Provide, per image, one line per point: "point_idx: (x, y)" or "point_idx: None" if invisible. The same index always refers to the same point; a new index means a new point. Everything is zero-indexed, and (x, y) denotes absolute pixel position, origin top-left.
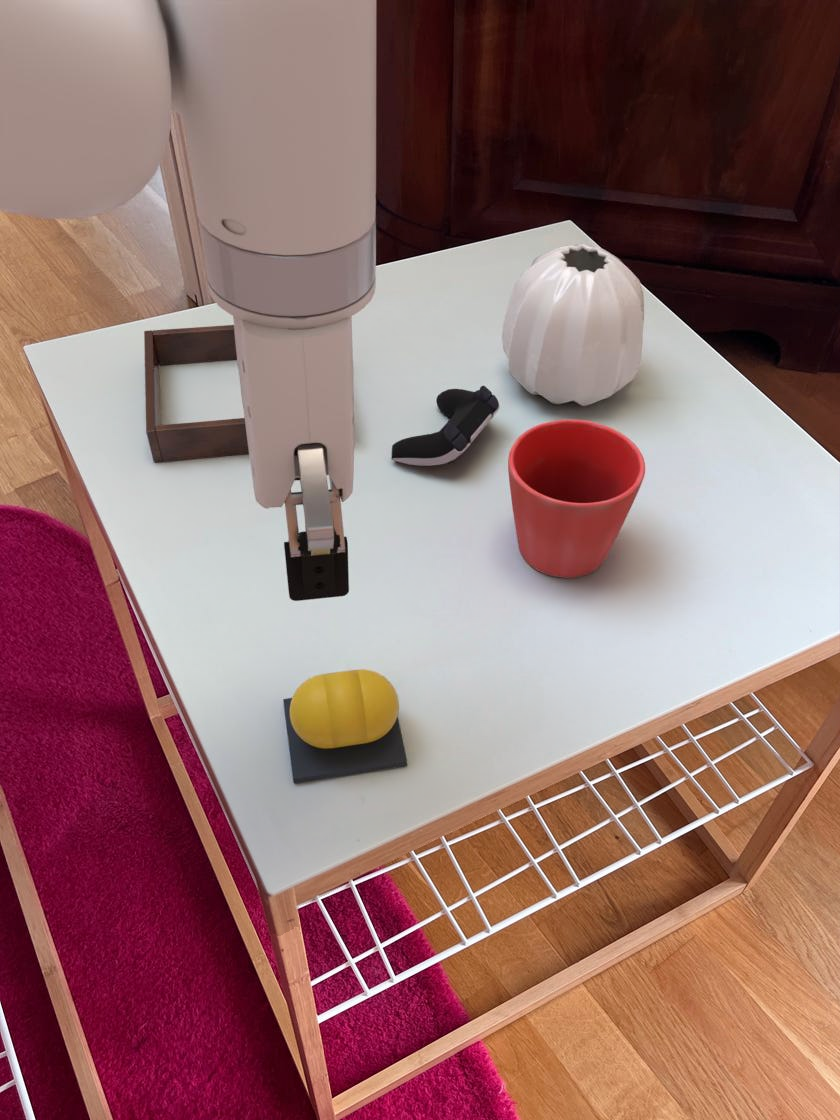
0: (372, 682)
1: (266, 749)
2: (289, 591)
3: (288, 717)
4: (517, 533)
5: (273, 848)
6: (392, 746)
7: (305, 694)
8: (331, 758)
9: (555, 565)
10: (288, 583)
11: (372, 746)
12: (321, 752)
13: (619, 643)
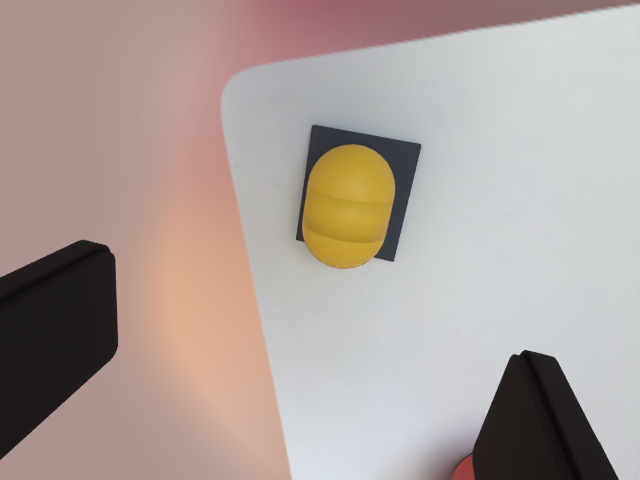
0: (337, 253)
1: (367, 107)
2: (62, 249)
3: (392, 143)
4: None
5: (249, 83)
6: None
7: (350, 173)
8: None
9: (463, 473)
10: (42, 259)
11: None
12: None
13: (361, 459)
